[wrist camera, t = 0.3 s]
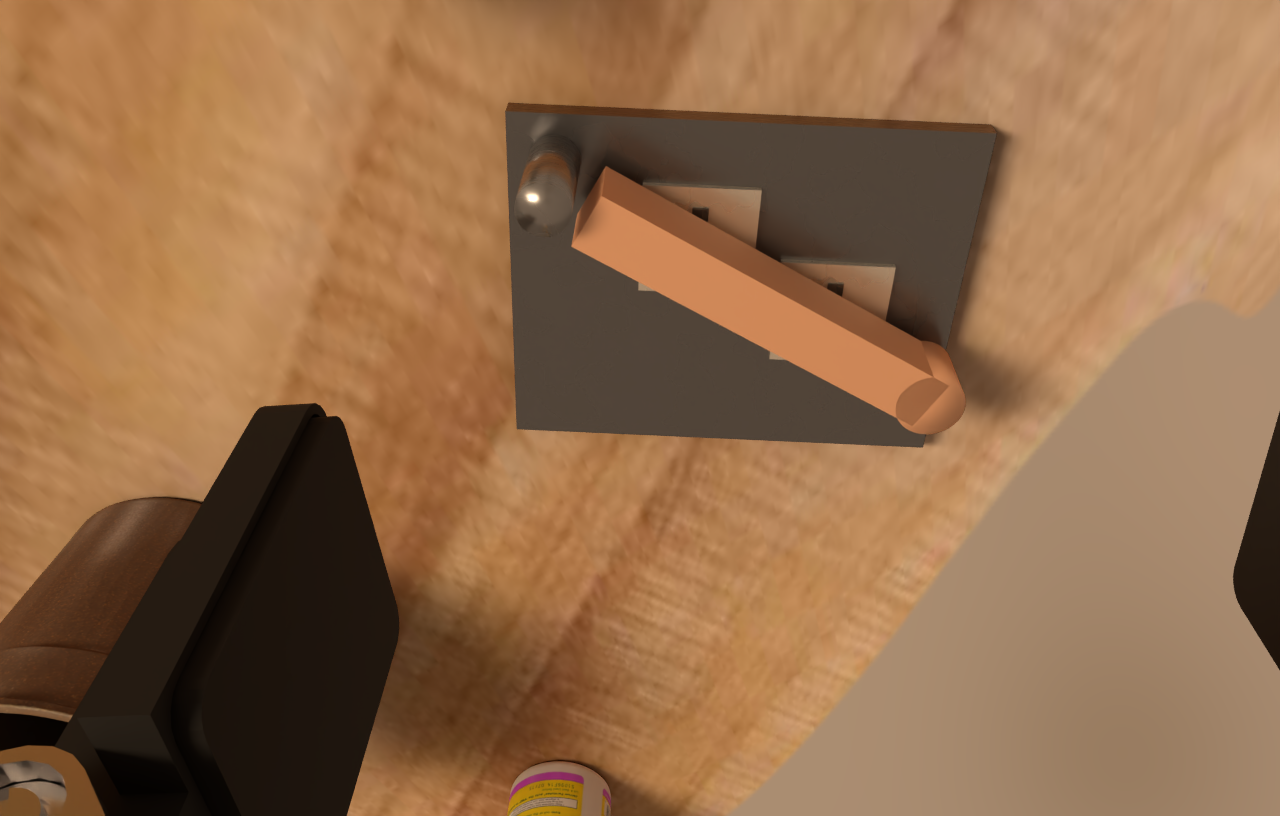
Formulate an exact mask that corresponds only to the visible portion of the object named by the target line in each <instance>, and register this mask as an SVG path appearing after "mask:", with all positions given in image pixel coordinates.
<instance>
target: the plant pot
mask: <svg viewBox="0 0 1280 816" xmlns="http://www.w3.org/2000/svg"><path fill="white" fill-rule="evenodd" d="M201 505H202V504H200V503H196V502H191V501H186V500H181V499H174V498H141V499H134V500H128V501H123V502H120V503H116V504H113V505H111V506H108V507H106V508H104V509H102V510H101V511H99V512H97V513H96V514H94V515H93V516H92V517H90V518H89V519H88V520H87V521H86V522H85V523H84V524H83V525H82V526H81V528H80V529H79V530H78V531H77V532H76V533H75V535H74V536H73V537H72V538H71V540H70V541H69V542H68V544H67V545H66V546H65V547H64V548H63V549H62V551H61V552H60V553H59V554H58V555H57V556H56V558H55V559H54V560H53V561H52V562H51V563H50V565H49V566H48V567H47V568H46V569H45V571H44V572H43V573H42V574H41V575H40V576H39V578H38V579H37V580H36V581H35V582H34V584H33V585H32V586H31V587H30V588H29V590H28V591H27V592H26V593H25V594H24V596H23V597H22V598H21V599H20V600H19V601H18V603H17V604H16V605H15V606H14V607H13V609H12V610H11V611H10V612H9V613H8V615H7V616H6V617H5V618H4V619H3V621H2V622H1V623H0V751H3V750H8V749H13V748H17V747H22V746H27V745H31V746H53V747H55V745H56V743H57V741H58V740H59V738H60V736H61V735H62V733H63V731H64V730H65V728H66V726H67V724H68V723H69V721H70V719H71V718H72V716H73V714H74V713H75V711H76V709H77V708H78V706H79V704H80V702H81V701H82V699H83V697H84V696H85V694H86V692H87V691H88V689H89V687H90V685H91V684H92V682H93V680H94V679H95V677H96V675H97V674H98V672H99V670H100V669H101V667H102V665H103V663H104V662H105V660H106V658H107V657H108V655H109V653H110V652H111V650H112V648H113V646H114V645H115V643H116V641H117V640H118V638H119V636H120V635H121V633H122V631H123V630H124V628H125V626H126V624H127V623H128V621H129V619H130V618H131V616H132V614H133V613H134V611H135V609H136V607H137V606H138V604H139V602H140V601H141V599H142V597H143V596H144V594H145V592H146V591H147V589H148V587H149V585H150V584H151V582H152V580H153V579H154V577H155V575H156V574H157V572H158V570H159V568H160V567H161V565H162V563H163V562H164V560H165V558H166V557H167V555H168V553H169V552H170V551H171V549H172V548H173V547H174V546H175V544H176V543H177V542H178V541H180V540H181V539H182V537H183V535H184V534H185V532H186V530H187V528H188V527H189V525H190V523H191V522H192V520H193V518H194V516H195V515H196V513H197V511H198V510H199V508H200V506H201Z"/></svg>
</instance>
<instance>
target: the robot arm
mask: <svg viewBox="0 0 1280 816" xmlns="http://www.w3.org/2000/svg"><path fill="white" fill-rule="evenodd" d="M1233 583H1234V590H1235V594H1236V598H1237V601H1238V603H1239V605H1240V607H1241V609H1242V610H1243V612H1244V614H1245V615H1246V617H1247V618H1248V620H1249V621H1250V623H1251V625H1252V626H1253V628H1254V630H1255V631H1256V633H1257V634H1258V636H1259V637H1260V639H1261V641H1262V642H1263V644H1264V645H1265V647H1266V649H1267V650H1268V652H1269V653H1270V655H1271V657H1272V658H1273V660H1274V662H1275V663H1276V665H1277V666H1278V668H1279V670H1280V413H1279V416H1278V419H1277V422H1276V426H1275V430H1274V433H1273V436H1272V440H1271V443H1270V447H1269V450H1268V453H1267V457H1266V460H1265V464H1264V468H1263V471H1262V474H1261V478H1260V481H1259V484H1258V488H1257V492H1256V495H1255V498H1254V502H1253V505H1252V508H1251V512H1250V515H1249V519H1248V522H1247V526H1246V529H1245V533H1244V536H1243V540H1242V543H1241V546H1240V550H1239V553H1238V557H1237V560H1236V564H1235V567H1234V574H1233ZM398 634H399V616H398V609H397V605H396V601H395V598H394V594H393V591H392V587H391V584H390V580H389V577H388V573H387V570H386V567H385V563H384V560H383V556H382V553H381V549H380V546H379V542H378V539H377V536H376V532H375V529H374V525H373V522H372V518H371V515H370V511H369V508H368V504H367V501H366V498H365V494H364V491H363V487H362V484H361V480H360V477H359V473H358V470H357V467H356V463H355V460H354V456H353V453H352V449H351V446H350V442H349V439H348V435H347V432H346V429H345V426H344V424H343V422H342V420H341V419H340V418H339V417H337V416H330V417H327V416H326V413H325V411H324V410H323V409H322V407H321V406H320V405H318V404H316V403H312V404H296V405H279V406H264V407H261V408H259V409H258V410H257V411H256V413H255V414H254V416H253V417H252V419H251V421H250V422H249V424H248V426H247V428H246V429H245V431H244V433H243V434H242V436H241V438H240V439H239V441H238V443H237V445H236V446H235V448H234V450H233V451H232V453H231V455H230V457H229V458H228V460H227V462H226V463H225V465H224V467H223V469H222V470H221V472H220V474H219V475H218V477H217V479H216V481H215V482H214V484H213V486H212V487H211V489H210V491H209V493H208V494H207V496H206V498H205V499H204V501H203V503H202V505H201V506H200V508H199V510H198V511H197V513H196V515H195V516H194V518H193V520H192V522H191V523H190V525H189V527H188V528H187V530H186V532H185V534H184V535H183V537H182V539H181V540H180V541H178V542H177V543H176V544H175V546H174V547H173V548H172V549H171V551H170V552H169V553H168V555H167V557H166V558H165V560H164V562H163V563H162V565H161V567H160V568H159V570H158V572H157V574H156V575H155V577H154V579H153V580H152V582H151V584H150V585H149V587H148V589H147V591H146V592H145V594H144V596H143V597H142V599H141V601H140V602H139V604H138V606H137V607H136V609H135V611H134V613H133V614H132V616H131V618H130V619H129V621H128V623H127V624H126V626H125V628H124V630H123V631H122V633H121V635H120V636H119V638H118V640H117V641H116V643H115V645H114V646H113V648H112V650H111V652H110V653H109V655H108V657H107V658H106V660H105V662H104V663H103V665H102V667H101V669H100V670H99V672H98V674H97V675H96V677H95V679H94V680H93V682H92V684H91V685H90V687H89V689H88V691H87V692H86V694H85V696H84V697H83V699H82V701H81V702H80V704H79V706H78V708H77V709H76V711H75V713H74V714H73V716H72V718H71V719H70V721H69V723H68V724H67V726H66V728H65V730H64V731H63V733H62V735H61V736H60V738H59V740H58V741H57V743H56V745H55V747H53V746H31V745H27V746H22V747H17V748H13V749H8V750H3V751H0V816H347V813H348V809H349V806H350V802H351V799H352V796H353V792H354V789H355V785H356V782H357V778H358V775H359V772H360V768H361V765H362V761H363V758H364V755H365V751H366V748H367V744H368V741H369V737H370V734H371V731H372V727H373V724H374V720H375V717H376V713H377V710H378V707H379V703H380V700H381V696H382V693H383V689H384V686H385V683H386V679H387V676H388V672H389V669H390V666H391V662H392V659H393V655H394V652H395V648H396V645H397V640H398Z"/></svg>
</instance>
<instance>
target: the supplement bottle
mask: <svg viewBox="0 0 1280 816" xmlns="http://www.w3.org/2000/svg"><path fill="white" fill-rule="evenodd" d="M507 816H611V793H610V789H609V787H608V785H607V783H606V782H605V780H604V779H603V778H602V777H601V776H600V775H599V774H597V773H596V772H594V771H593V770H591V769H589V768H587V767H585V766H582V765H580V764H576V763H572V762H565V761H552V762H545V763H541V764H537V765H535V766H532V767H530V768H528V769H527V770H525V771H524V772H522V773H521V774H520V775H519V776H518V777H517V778H516V780H515V782H514V783H513V786H512V789H511V794H510V800H509V807H508V815H507Z"/></svg>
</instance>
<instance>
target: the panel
mask: <svg viewBox="0 0 1280 816" xmlns="http://www.w3.org/2000/svg"><path fill="white" fill-rule="evenodd" d="M505 114H506V142H507V170H508V198H509V225H510V253H511V281H512V309H513V337H514V365H515V392H516V420H517V429H525V430H547V431H570V432H592V433H614V434H636V435H658V436H680V437H702V438H724V439H746V440H768V441H790V442H812V443H834V444H856V445H879V446H901V447H923V445H924V441H925V436H926V434H918V433H914V432H912V431H909V430H908V429H906V428H905V427H903V426H902V425H901V424H900V422H899V421H898V419H897V418H896V417H894V416H892V415H890V414H888V413H886V412H884V411H882V410H880V409H878V408H877V407H875V406H873V405H871V404H869V403H867V402H865V401H863V400H861V399H860V398H858V397H856V396H854V395H852V394H850V393H848V392H846V391H844V390H842V389H841V388H839V387H837V386H835V385H833V384H831V383H829V382H827V381H825V380H823V379H822V378H820V377H818V376H816V375H814V374H812V373H810V372H808V371H806V370H805V369H803V368H801V367H799V366H797V365H795V364H793V363H791V362H789V361H787V360H786V359H784V358H782V357H780V356H778V355H776V354H774V353H772V352H770V351H768V350H767V349H765V348H763V347H761V346H759V345H757V344H755V343H753V342H751V341H749V340H748V339H746V338H744V337H742V336H740V335H738V334H736V333H734V332H732V331H731V330H729V329H727V328H725V327H723V326H721V325H719V324H717V323H715V322H713V321H712V320H710V319H708V318H706V317H704V316H702V315H700V314H698V313H696V312H694V311H693V310H691V309H689V308H687V307H685V306H683V305H681V304H679V303H677V302H676V301H674V300H672V299H670V298H668V297H666V296H664V295H662V294H660V293H658V292H657V291H655V290H653V289H651V288H649V287H647V286H645V285H643V284H641V283H639V282H638V281H636V280H634V279H632V278H630V277H628V276H626V275H624V274H622V273H621V272H619V271H617V270H615V269H613V268H611V267H609V266H607V265H605V264H603V263H602V262H600V261H598V260H596V259H594V258H592V257H590V256H588V255H586V254H584V253H583V252H581V251H579V250H577V249H575V248H573V247H571V246H572V240H573V235H574V229H575V223H576V218H577V214H578V212H579V210H580V209H581V207H582V205H583V204H584V202H585V200H586V199H587V197H588V195H589V194H590V192H591V190H592V189H593V187H594V185H595V184H596V182H597V180H598V178H599V177H600V175H601V173H602V172H603V170H604V168H605V167H606V166H607V167H609V168H610V169H612V170H614V171H616V172H618V173H619V174H621V175H623V176H625V177H627V178H628V179H630V180H632V181H634V182H636V183H637V184H639V185H641V186H643V187H645V188H646V189H648V190H650V191H652V192H654V193H655V194H657V195H659V196H661V197H663V198H664V199H666V200H668V201H670V202H672V203H673V204H675V205H677V206H679V207H681V208H682V209H684V210H686V211H688V212H690V213H691V214H693V215H695V216H697V217H699V218H700V219H702V220H704V221H706V222H708V223H709V224H711V225H713V226H715V227H717V228H718V229H720V230H722V231H724V232H726V233H727V234H729V235H731V236H733V237H735V238H736V239H738V240H740V241H742V242H744V243H745V244H747V245H749V246H751V247H753V248H754V249H756V250H758V251H760V252H762V253H763V254H765V255H767V256H769V257H771V258H772V259H774V260H776V261H778V262H780V263H781V264H783V265H785V266H787V267H789V268H790V269H792V270H794V271H796V272H798V273H799V274H801V275H803V276H805V277H807V278H808V279H810V280H812V281H814V282H816V283H817V284H819V285H821V286H823V287H825V288H826V289H828V290H830V291H832V292H834V293H835V294H837V295H839V296H841V297H843V298H844V299H846V300H848V301H850V302H852V303H853V304H855V305H857V306H859V307H861V308H862V309H864V310H866V311H868V312H870V313H871V314H873V315H875V316H877V317H879V318H880V319H882V320H884V321H886V322H888V323H889V324H891V325H893V326H895V327H897V328H898V329H900V330H902V331H904V332H906V333H907V334H909V335H911V336H913V337H915V338H916V339H918V340H920V341H929V342H933V343H936V344H938V345H940V346H941V347H943V348H944V349H945V350H946V347H947V343H948V339H949V334H950V330H951V326H952V322H953V317H954V313H955V309H956V305H957V300H958V296H959V292H960V288H961V283H962V279H963V275H964V271H965V267H966V262H967V258H968V254H969V250H970V245H971V241H972V237H973V233H974V228H975V224H976V220H977V216H978V211H979V207H980V203H981V199H982V194H983V190H984V186H985V182H986V177H987V173H988V169H989V165H990V160H991V156H992V152H993V148H994V143H995V139H996V135H997V133H996V131H995V130H994V129H993V127H992V126H991V125H986V124H964V123H942V122H920V121H898V120H876V119H853V118H831V117H809V116H787V115H765V114H743V113H721V112H698V111H676V110H654V109H632V108H610V107H588V106H566V105H543V104H521V103H508V106H507V108H506V111H505Z"/></svg>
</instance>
